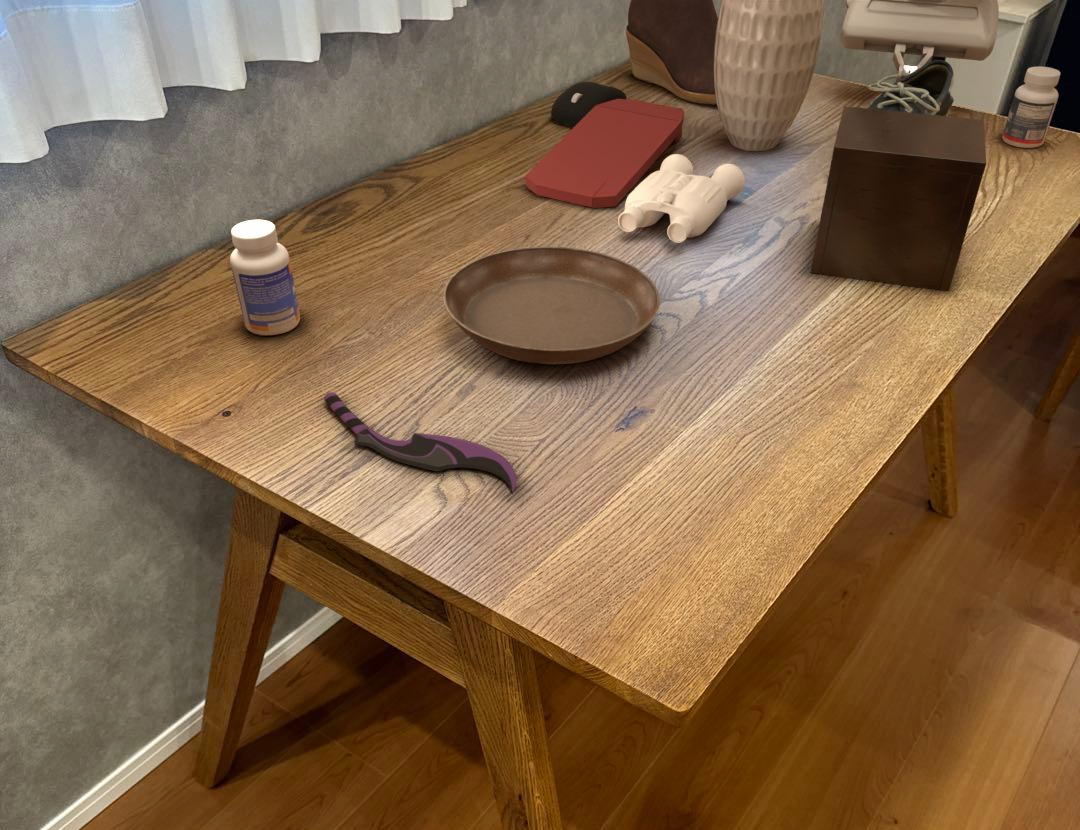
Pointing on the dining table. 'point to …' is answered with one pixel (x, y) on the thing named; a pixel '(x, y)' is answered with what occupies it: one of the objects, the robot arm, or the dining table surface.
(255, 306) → the pill bottle
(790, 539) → the dining table surface
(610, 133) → the carton
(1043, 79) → the pill bottle
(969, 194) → the dark wooden box
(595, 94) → the computer mouse
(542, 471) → the dining table surface
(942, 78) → the boat shoe
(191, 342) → the dining table surface
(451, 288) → the plant saucer
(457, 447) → the knife
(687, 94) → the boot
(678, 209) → the binoculars
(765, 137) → the vase
